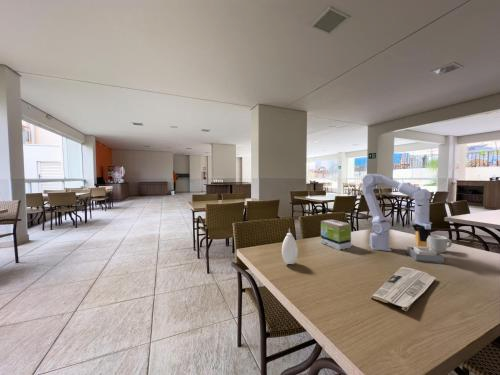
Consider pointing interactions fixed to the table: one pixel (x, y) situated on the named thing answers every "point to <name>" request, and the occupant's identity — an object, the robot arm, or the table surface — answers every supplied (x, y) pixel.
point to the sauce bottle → (289, 249)
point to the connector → (417, 240)
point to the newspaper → (404, 287)
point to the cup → (439, 243)
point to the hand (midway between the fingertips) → (421, 240)
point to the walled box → (425, 254)
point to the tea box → (336, 234)
